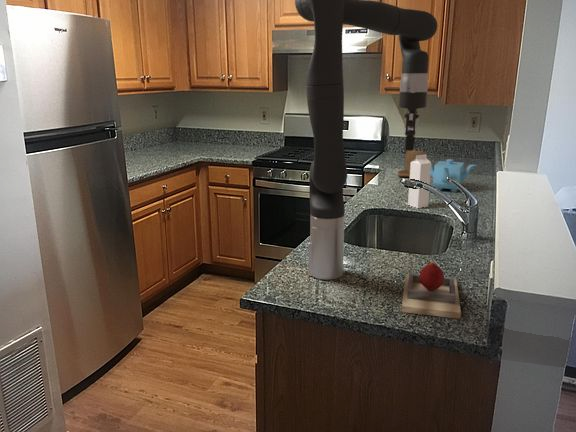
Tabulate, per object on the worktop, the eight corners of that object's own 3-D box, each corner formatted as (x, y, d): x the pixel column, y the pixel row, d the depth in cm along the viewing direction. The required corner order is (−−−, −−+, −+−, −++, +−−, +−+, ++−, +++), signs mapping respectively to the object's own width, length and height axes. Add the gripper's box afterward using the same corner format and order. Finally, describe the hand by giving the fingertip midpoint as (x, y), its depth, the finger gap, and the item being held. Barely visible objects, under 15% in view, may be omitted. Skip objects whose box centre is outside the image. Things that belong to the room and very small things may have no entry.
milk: (407, 205, 205) (410, 154, 199) (418, 204, 208) (421, 153, 202) (418, 208, 200) (421, 156, 194) (428, 206, 203) (432, 155, 197)
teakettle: (451, 184, 246) (453, 155, 242) (476, 191, 229) (479, 161, 225) (419, 187, 240) (421, 158, 236) (443, 195, 223) (445, 163, 219)
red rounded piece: (437, 285, 122) (440, 256, 120) (446, 295, 117) (449, 265, 114) (415, 286, 122) (417, 257, 120) (422, 296, 116) (425, 265, 114)
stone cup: (424, 175, 270) (426, 148, 266) (426, 179, 258) (428, 151, 254) (396, 174, 272) (398, 148, 268) (397, 178, 261) (399, 151, 257)
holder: (401, 311, 112) (402, 298, 111) (405, 278, 130) (406, 266, 129) (460, 318, 109) (461, 304, 108) (455, 283, 127) (456, 271, 126)
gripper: (401, 89, 142) (397, 144, 146) (398, 91, 128) (394, 151, 133) (427, 89, 140) (423, 145, 144) (427, 91, 126) (422, 152, 131)
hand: (409, 148), depth 138 cm, fingers open, 8 cm apart
